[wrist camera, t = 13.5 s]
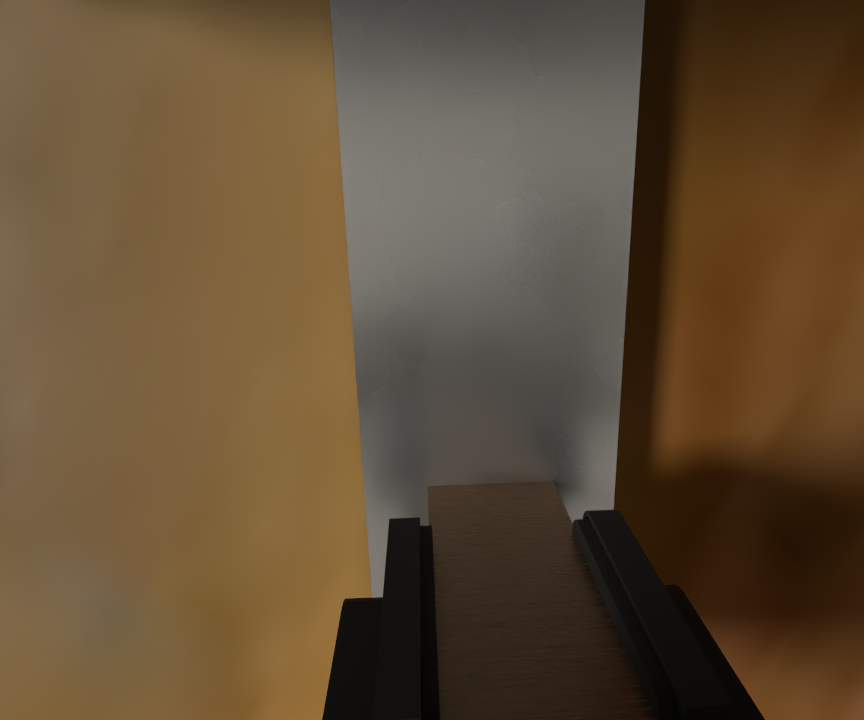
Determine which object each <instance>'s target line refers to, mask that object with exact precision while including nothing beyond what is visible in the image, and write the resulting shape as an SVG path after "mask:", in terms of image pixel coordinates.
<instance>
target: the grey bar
mask: <svg viewBox="0 0 864 720" xmlns="http://www.w3.org/2000/svg"><path fill="white" fill-rule="evenodd" d="M644 10H645V0H330V13H331V27H332V41H333V55H334V69H335V83H336V97H337V111H338V126H339V140H340V154H341V168H342V182H343V196H344V210H345V224H346V238H347V253H348V267H349V281H350V295H351V309H352V323H353V337H354V351H355V365H356V380H357V394H358V408H359V422H360V436H361V450H362V464H363V478H364V492H365V507H366V521H367V535H368V549H369V563H370V577H371V591H372V598H376V597H383V587H384V575H385V563H386V551H387V539H388V527H389V519H391V518H416V517H420V526H426V525H432V533H433V558H434V582H435V606H436V631H437V655H438V680H439V704H440V720H658V719H657V716H656V714H655V712H654V710H653V708H652V705H651V703H650V701H649V699H648V697H647V694H646V692H645V690H644V688H643V686H642V683H641V681H640V679H639V677H638V675H637V672H636V670H635V668H634V666H633V664H632V661H631V659H630V657H629V655H628V653H627V650H626V648H625V646H624V644H623V641H622V639H621V637H620V635H619V633H618V630H617V628H616V626H615V624H614V622H613V619H612V617H611V615H610V613H609V611H608V608H607V606H606V604H605V602H604V600H603V597H602V595H601V593H600V591H599V589H598V586H597V584H596V582H595V580H594V577H593V575H592V573H591V571H590V569H589V566H588V564H587V562H586V560H585V558H584V555H583V553H582V551H581V549H580V547H579V544H578V542H577V540H576V538H575V536H574V533H573V531H572V527H573V522H574V520H575V519H583V515H584V512H585V511H591V510H614V495H615V479H616V463H617V447H618V431H619V414H620V398H621V382H622V366H623V350H624V333H625V317H626V301H627V285H628V269H629V252H630V236H631V220H632V204H633V188H634V172H635V155H636V139H637V123H638V107H639V91H640V74H641V58H642V42H643V26H644Z"/></svg>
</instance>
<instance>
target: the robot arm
mask: <svg viewBox="0 0 864 720" xmlns="http://www.w3.org/2000/svg"><path fill="white" fill-rule="evenodd" d="M572 531H573V533H574V536H575V538H576V540H577V542H578V544H579V547H580V549H581V551H582V553H583V555H584V558H585V560H586V562H587V564H588V566H589V569H590V571H591V573H592V575H593V577H594V580H595V582H596V584H597V586H598V589H599V591H600V593H601V595H602V597H603V600H604V602H605V604H606V606H607V608H608V611H609V613H610V615H611V617H612V619H613V622H614V624H615V626H616V628H617V630H618V633H619V635H620V637H621V639H622V641H623V644H624V646H625V648H626V650H627V653H628V655H629V657H630V659H631V661H632V664H633V666H634V668H635V670H636V672H637V675H638V677H639V679H640V681H641V683H642V686H643V688H644V690H645V692H646V694H647V697H648V699H649V701H650V703H651V705H652V708H653V710H654V712H655V714H656V716H657V719H658V720H765V719H764V718H763V716H762V714H761V713H760V711H759V710H758V708H757V707H756V705H755V703H754V702H753V700H752V699H751V697H750V696H749V694H748V692H747V691H746V689H745V688H744V686H743V685H742V683H741V681H740V680H739V678H738V677H737V675H736V674H735V672H734V670H733V669H732V667H731V666H730V664H729V663H728V661H727V659H726V658H725V656H724V655H723V653H722V652H721V650H720V648H719V647H718V645H717V644H716V642H715V641H714V639H713V637H712V636H711V634H710V633H709V631H708V630H707V628H706V626H705V625H704V623H703V622H702V620H701V619H700V617H699V615H698V614H697V612H696V611H695V609H694V608H693V606H692V604H691V603H690V601H689V600H688V598H687V597H686V595H685V594H684V592H683V591H682V590H681V589H680V588H679V587H677V586H675V585H665V586H664V585H663V583H662V582H661V580H660V578H659V577H658V575H657V573H656V572H655V570H654V568H653V567H652V565H651V563H650V562H649V560H648V558H647V557H646V555H645V553H644V552H643V550H642V548H641V547H640V545H639V543H638V542H637V540H636V538H635V537H634V535H633V533H632V532H631V530H630V528H629V527H628V525H627V523H626V521H625V520H624V518H623V516H622V515H621V513H620V512H619V511H618V510H591V511H585V512H584V515H583V519H575V520H574V522H573V527H572ZM322 720H440V704H439V680H438V655H437V631H436V606H435V582H434V558H433V533H432V525H426V526H420V517H416V518H391V519H389V527H388V539H387V551H386V563H385V575H384V587H383V597H376V598H352V599H345V600H344V602H343V606H342V611H341V616H340V622H339V628H338V633H337V639H336V645H335V651H334V656H333V662H332V668H331V673H330V679H329V685H328V690H327V696H326V702H325V708H324V713H323V719H322Z"/></svg>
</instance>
